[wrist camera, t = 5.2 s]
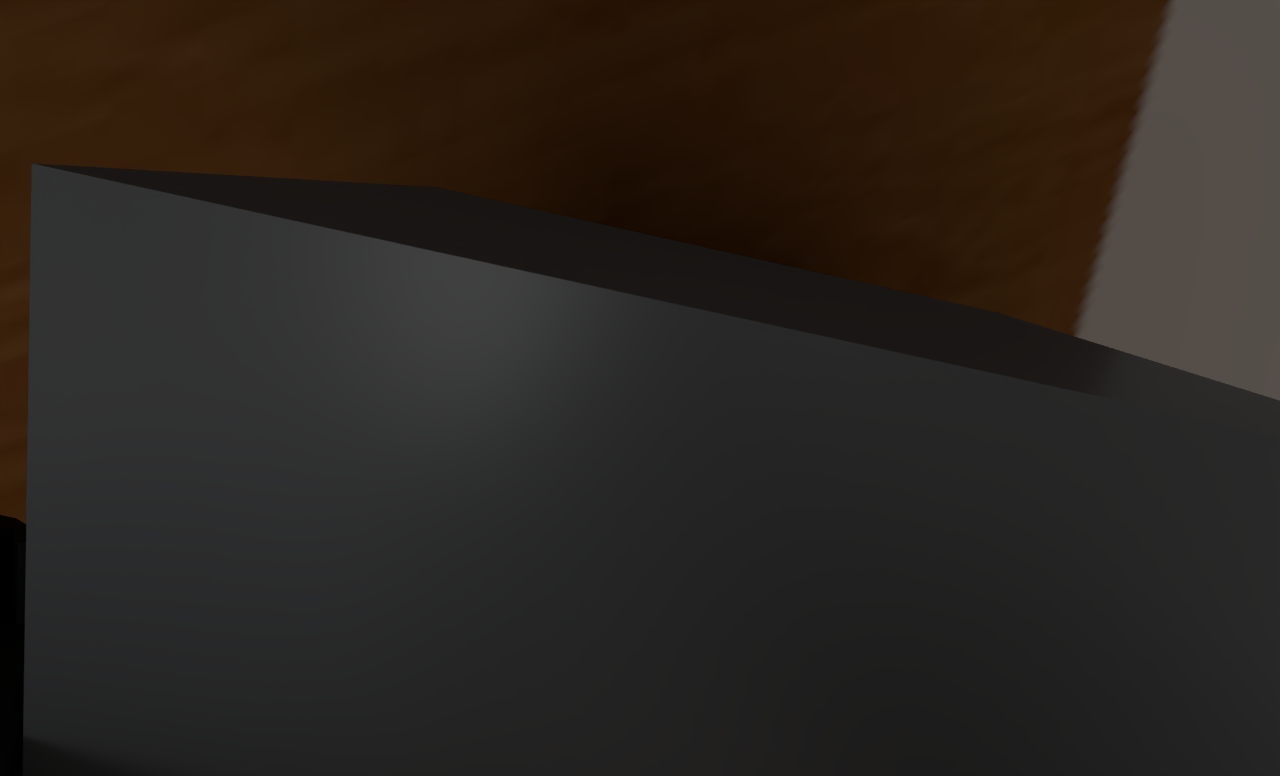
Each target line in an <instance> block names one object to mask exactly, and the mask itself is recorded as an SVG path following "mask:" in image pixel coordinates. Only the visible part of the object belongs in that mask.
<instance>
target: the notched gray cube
mask: <svg viewBox="0 0 1280 776" xmlns="http://www.w3.org/2000/svg"><path fill="white" fill-rule="evenodd" d="M23 776H1280V401H1279V400H1276V399H1273V398H1269V397H1266V396H1263V395H1260V394H1257V393H1253V392H1250V391H1247V390H1244V389H1241V388H1237V387H1234V386H1230V385H1228V384H1225V383H1221V382H1218V381H1215V380H1211V379H1209V378H1205V377H1202V376H1199V375H1196V374H1193V373H1189V372H1186V371H1182V370H1180V369H1177V368H1173V367H1170V366H1167V365H1164V364H1161V363H1157V362H1154V361H1151V360H1148V359H1145V358H1141V357H1138V356H1134V355H1132V354H1129V353H1125V352H1122V351H1119V350H1116V349H1113V348H1109V347H1106V346H1103V345H1100V344H1097V343H1093V342H1090V341H1087V340H1084V339H1081V338H1077V337H1074V336H1071V335H1068V334H1065V333H1061V332H1058V331H1055V330H1052V329H1049V328H1045V327H1042V326H1039V325H1036V324H1033V323H1029V322H1026V321H1023V320H1020V319H1017V318H1013V317H1010V316H1007V315H1004V314H1001V313H997V312H992V311H988V310H983V309H979V308H974V307H970V306H965V305H961V304H956V303H952V302H947V301H943V300H938V299H934V298H930V297H925V296H921V295H916V294H912V293H907V292H903V291H898V290H894V289H889V288H885V287H880V286H876V285H871V284H867V283H862V282H858V281H853V280H849V279H845V278H840V277H836V276H831V275H827V274H822V273H818V272H813V271H809V270H804V269H800V268H795V267H791V266H786V265H782V264H777V263H773V262H769V261H764V260H760V259H755V258H751V257H746V256H742V255H737V254H733V253H728V252H724V251H719V250H715V249H710V248H706V247H701V246H697V245H692V244H688V243H684V242H679V241H675V240H670V239H666V238H661V237H657V236H652V235H648V234H643V233H639V232H634V231H630V230H625V229H621V228H616V227H612V226H607V225H603V224H599V223H594V222H590V221H585V220H581V219H576V218H572V217H567V216H563V215H558V214H554V213H549V212H545V211H540V210H536V209H531V208H527V207H522V206H518V205H514V204H509V203H505V202H500V201H496V200H491V199H487V198H482V197H478V196H473V195H469V194H464V193H460V192H455V191H451V190H446V189H442V188H437V187H422V186H405V185H388V184H371V183H354V182H337V181H320V180H303V179H286V178H269V177H252V176H235V175H218V174H201V173H184V172H168V171H151V170H134V169H117V168H100V167H83V166H66V165H49V164H32V189H31V255H30V320H29V385H28V451H27V516H26V581H25V647H24V712H23Z"/></svg>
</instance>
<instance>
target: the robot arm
mask: <svg viewBox="0 0 1280 776" xmlns="http://www.w3.org/2000/svg"><path fill="white" fill-rule="evenodd" d="M25 581H26V524H24V523H23V522H21V521H20V520H18V519H16V518H12V517H7V516H2V515H0V776H23V712H24V647H25Z"/></svg>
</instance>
